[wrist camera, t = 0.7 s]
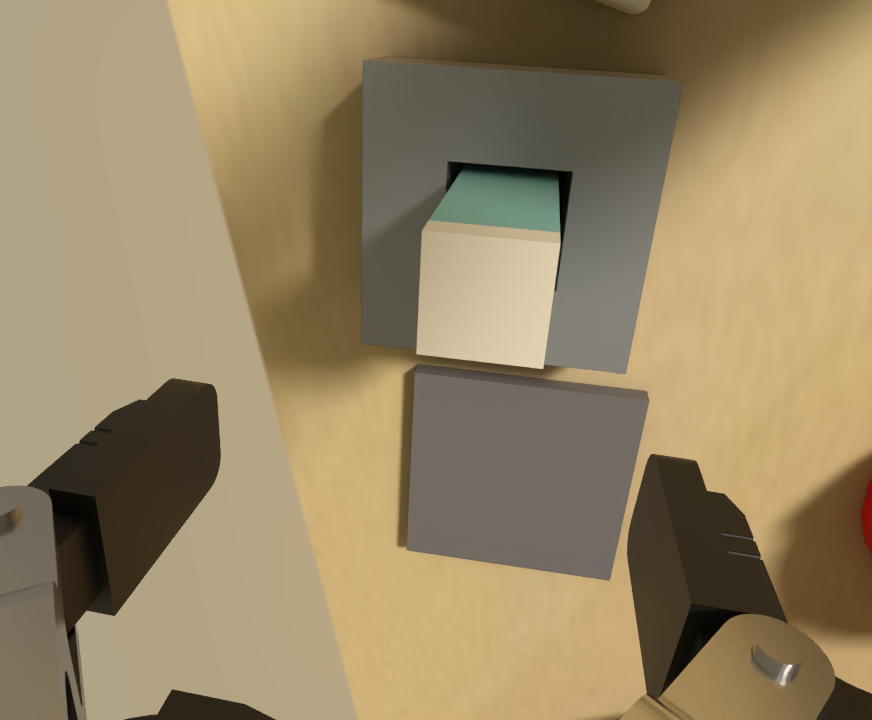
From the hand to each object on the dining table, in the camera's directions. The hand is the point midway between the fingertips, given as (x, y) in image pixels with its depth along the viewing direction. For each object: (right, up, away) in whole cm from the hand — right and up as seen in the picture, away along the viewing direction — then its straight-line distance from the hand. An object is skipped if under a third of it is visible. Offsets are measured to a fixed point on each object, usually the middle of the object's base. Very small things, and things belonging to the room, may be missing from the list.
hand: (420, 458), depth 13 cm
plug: (+4, +9, +20) cm, 22 cm away
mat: (+5, -5, +26) cm, 27 cm away
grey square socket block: (+4, +9, +20) cm, 22 cm away
